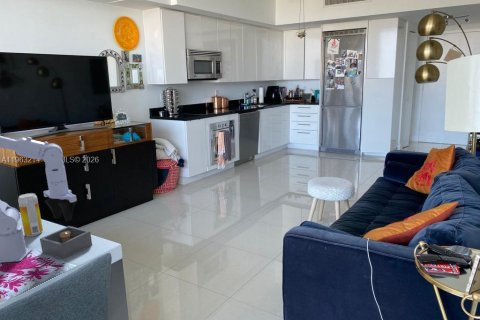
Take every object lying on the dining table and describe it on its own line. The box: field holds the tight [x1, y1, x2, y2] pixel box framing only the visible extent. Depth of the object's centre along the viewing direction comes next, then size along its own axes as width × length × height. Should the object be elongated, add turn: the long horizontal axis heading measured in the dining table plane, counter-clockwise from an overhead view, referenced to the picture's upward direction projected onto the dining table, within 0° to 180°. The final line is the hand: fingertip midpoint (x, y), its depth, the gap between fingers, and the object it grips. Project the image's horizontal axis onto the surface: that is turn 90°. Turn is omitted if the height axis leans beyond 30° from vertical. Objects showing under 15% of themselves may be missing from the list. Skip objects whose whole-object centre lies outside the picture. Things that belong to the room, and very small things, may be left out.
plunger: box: [60, 231, 71, 243], centre depth 123 cm, size 8×8×5 cm
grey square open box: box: [39, 225, 93, 260], centre depth 123 cm, size 11×11×5 cm
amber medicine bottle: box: [17, 192, 44, 237], centre depth 135 cm, size 6×6×15 cm
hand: (63, 219), depth 124 cm, fingers open, 5 cm apart
